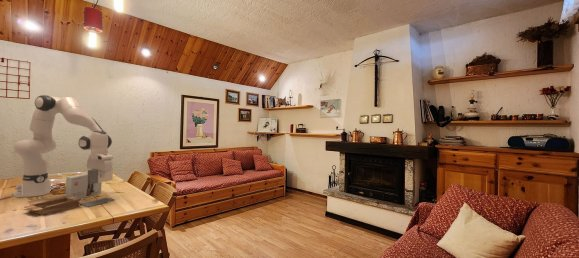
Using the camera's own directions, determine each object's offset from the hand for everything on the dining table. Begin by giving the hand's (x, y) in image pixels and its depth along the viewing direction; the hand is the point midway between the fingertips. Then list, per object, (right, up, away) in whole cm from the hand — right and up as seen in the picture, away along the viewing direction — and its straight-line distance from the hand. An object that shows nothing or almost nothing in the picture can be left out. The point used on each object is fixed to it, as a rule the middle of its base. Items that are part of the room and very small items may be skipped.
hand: (98, 176), depth 160 cm
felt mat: (-1, -17, 0) cm, 17 cm away
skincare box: (-18, -16, +10) cm, 26 cm away
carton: (-16, -16, -13) cm, 26 cm away
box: (0, -3, +1) cm, 3 cm away
